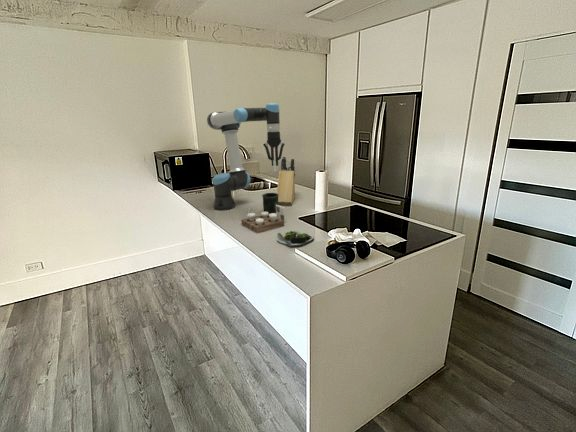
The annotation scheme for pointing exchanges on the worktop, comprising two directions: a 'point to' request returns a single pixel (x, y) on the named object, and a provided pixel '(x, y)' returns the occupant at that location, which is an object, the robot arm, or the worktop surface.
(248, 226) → the board
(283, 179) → the knife block
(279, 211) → the card
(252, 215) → the button
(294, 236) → the salad plate
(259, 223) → the button
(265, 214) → the button
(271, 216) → the button
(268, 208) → the mug
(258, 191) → the worktop surface
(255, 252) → the worktop surface
